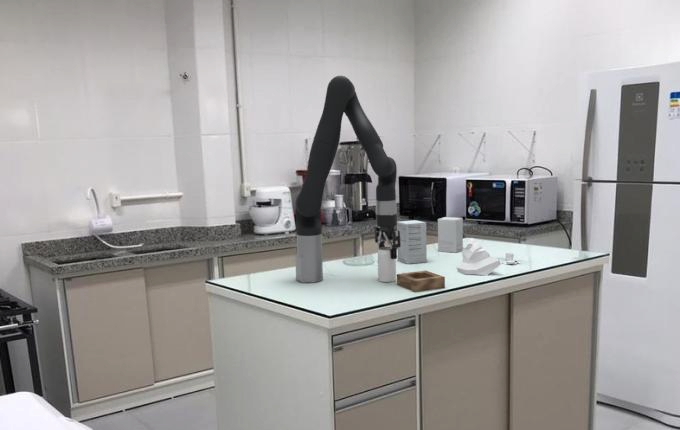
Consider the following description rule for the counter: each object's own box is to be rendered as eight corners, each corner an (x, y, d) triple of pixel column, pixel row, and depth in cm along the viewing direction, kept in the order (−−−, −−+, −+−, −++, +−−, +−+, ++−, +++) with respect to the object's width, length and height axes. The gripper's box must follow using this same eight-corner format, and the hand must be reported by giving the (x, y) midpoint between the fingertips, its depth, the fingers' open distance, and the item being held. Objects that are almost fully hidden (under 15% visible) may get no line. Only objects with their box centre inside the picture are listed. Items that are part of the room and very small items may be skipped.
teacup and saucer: (514, 266, 236) (515, 256, 236) (495, 264, 241) (495, 254, 240) (522, 262, 243) (522, 253, 242) (504, 260, 248) (504, 251, 247)
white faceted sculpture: (474, 282, 217) (463, 245, 216) (455, 276, 231) (445, 242, 230) (502, 270, 220) (492, 234, 219) (482, 266, 235) (472, 232, 233)
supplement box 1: (427, 262, 246) (427, 222, 244) (407, 264, 243) (407, 223, 240) (416, 258, 255) (415, 219, 253) (396, 260, 251) (396, 221, 249)
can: (395, 283, 212) (394, 250, 210) (377, 282, 213) (376, 249, 211) (396, 278, 218) (396, 246, 216) (379, 278, 219) (379, 246, 218)
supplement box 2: (463, 249, 272) (463, 217, 271) (456, 253, 265) (456, 219, 263) (444, 248, 277) (444, 216, 275) (437, 251, 270) (437, 218, 268)
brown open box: (414, 292, 198) (414, 281, 198) (396, 284, 209) (396, 274, 209) (444, 287, 203) (444, 276, 203) (425, 280, 214) (425, 270, 214)
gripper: (367, 211, 217) (369, 255, 219) (387, 215, 205) (388, 261, 207) (385, 210, 221) (386, 252, 223) (405, 213, 208) (407, 258, 210)
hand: (387, 257), depth 215 cm, fingers open, 8 cm apart
